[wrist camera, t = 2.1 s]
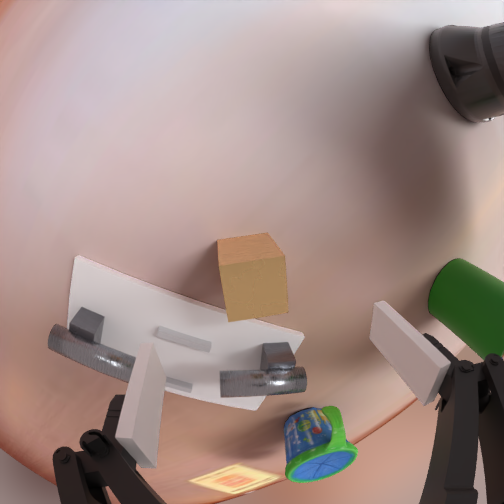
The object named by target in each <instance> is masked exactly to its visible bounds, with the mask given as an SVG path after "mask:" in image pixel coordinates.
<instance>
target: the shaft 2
mask: <svg viewBox="0 0 504 504" xmlns="http://www.w3.org/2000/svg"><path fill="white" fill-rule="evenodd" d="M295 364H296V359H295V357H294V354H293V352H292V350H291V347H290V345H289V343H288V342H278V343H263V346H262V355H261V364H260V370H230V371H220V372H219V378H220V397H221V398H226V397H253V396H269V395H281V394H291V393H300V392H305V390H306V386H307V377H306V372H305V369H304V368H303V367H302V366H301V367H295Z"/></svg>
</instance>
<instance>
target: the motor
mask: <svg viewBox="0 0 504 504" xmlns="http://www.w3.org/2000/svg"><path fill="white" fill-rule="evenodd" d="M428 308H429V312H430V313H431V314H432V315H433V316H434V317H436V318H437V319H438V320H439V321H440V322H441V323H443V324H444V325H445V326H446V327H447V328H449V329H450V330H451V331H452V332H453V333H454V334H455V335H457V336H458V337H459V338H460V339H461V340H462V341H463V342H465V343H466V344H467V345H468V346H469V347H470V348H471V349H472V350H473V351H475V352H476V353H477V354H478V355H479V356H480V357H481V358H482V359H483V360H484V359H485V357H486V356H487V355H488V354H490V353H495V354H497V355H499V356H501V358H502V357H503V356H504V282H502V281H501V280H499V279H497V278H496V277H494V276H492V275H490V274H489V273H487V272H485V271H483V270H482V269H480V268H478V267H476V266H474V265H473V264H471V263H469V262H467V261H465V260H463V259H460V258H459V259H455V260H452V261H451V262H449V263H448V264H447V265H446V266H445V267H444V268H443V269H442V270H441V272H440V273H439V275H438V276H437V278H436V280H435V282H434V284H433V286H432V289H431V291H430V295H429V300H428Z"/></svg>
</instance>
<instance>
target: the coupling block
mask: <svg viewBox="0 0 504 504" xmlns="http://www.w3.org/2000/svg"><path fill="white" fill-rule="evenodd" d="M217 245H218V263H219V271H220V277H221V283H222V289H223V295H224V301H225V306H226V312H227V318H228V322H234V321H241V320H247V319H254V318H260V317H266V316H271V315H277V314H283V313H288V295H287V278H286V263H285V255H284V254H283V253H282V251H281V250H280V248H279V247H278V246H277V244H276V243H275V242H274V240H273V239H272V238H271V236H270V235H269V234H268V233H262V234H255V235H248V236H241V237H234V238H227V239H220V240H217Z"/></svg>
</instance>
